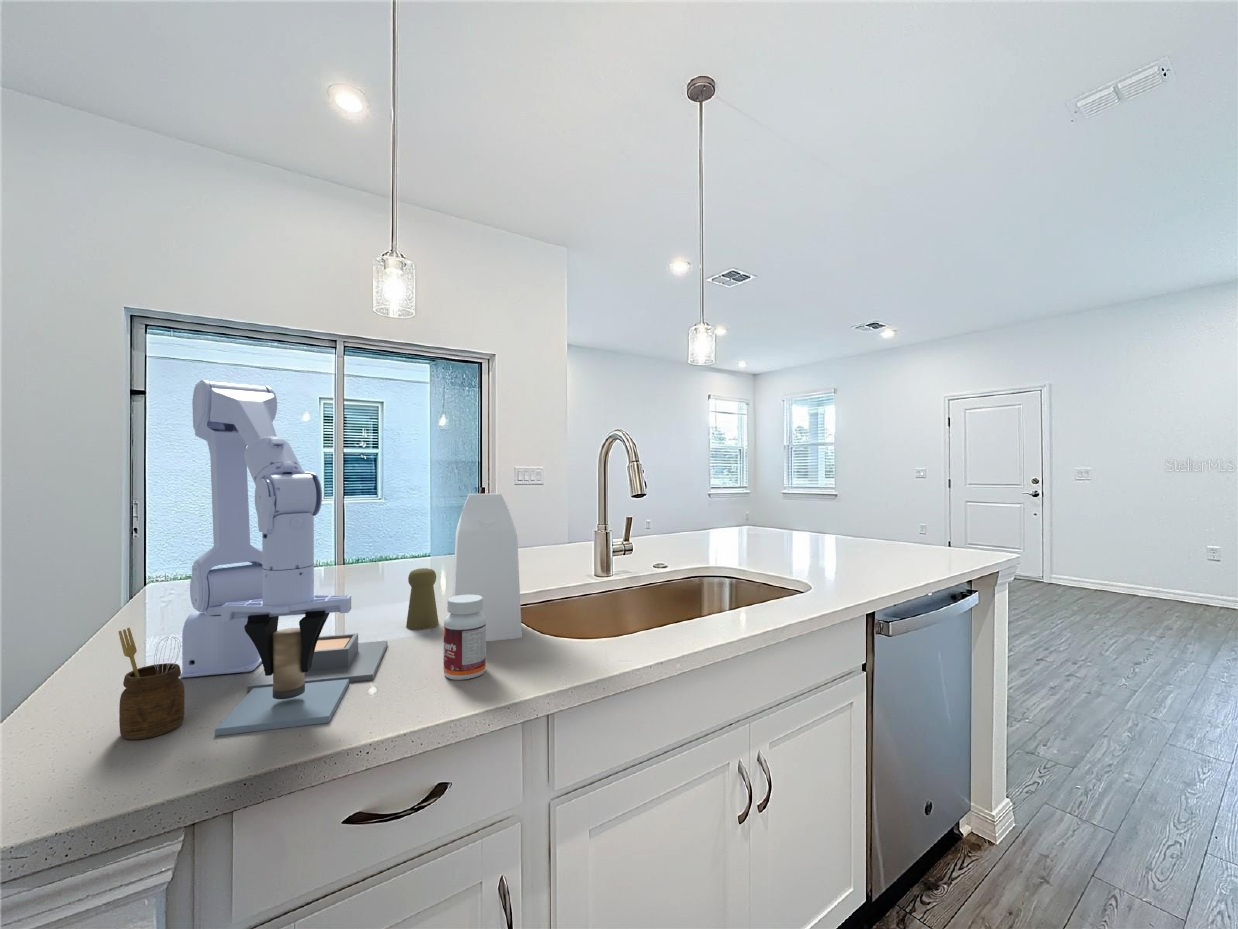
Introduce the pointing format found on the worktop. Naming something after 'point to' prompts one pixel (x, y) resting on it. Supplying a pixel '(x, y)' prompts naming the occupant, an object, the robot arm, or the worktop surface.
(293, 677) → the rounded tan cylinder
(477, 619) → the pill bottle
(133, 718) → the utensil holder
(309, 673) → the breaker housing
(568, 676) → the worktop surface
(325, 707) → the rubber mat
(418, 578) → the cork
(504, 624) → the milk
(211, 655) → the robot arm
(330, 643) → the button
